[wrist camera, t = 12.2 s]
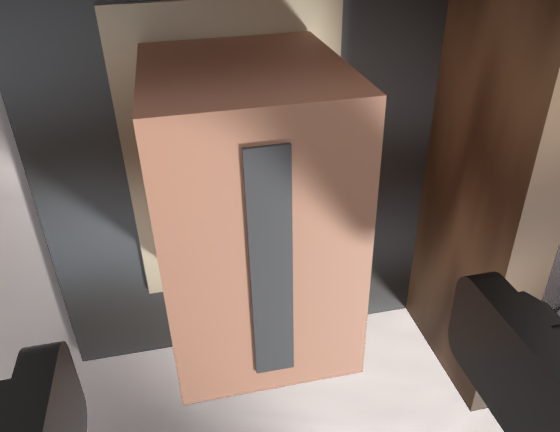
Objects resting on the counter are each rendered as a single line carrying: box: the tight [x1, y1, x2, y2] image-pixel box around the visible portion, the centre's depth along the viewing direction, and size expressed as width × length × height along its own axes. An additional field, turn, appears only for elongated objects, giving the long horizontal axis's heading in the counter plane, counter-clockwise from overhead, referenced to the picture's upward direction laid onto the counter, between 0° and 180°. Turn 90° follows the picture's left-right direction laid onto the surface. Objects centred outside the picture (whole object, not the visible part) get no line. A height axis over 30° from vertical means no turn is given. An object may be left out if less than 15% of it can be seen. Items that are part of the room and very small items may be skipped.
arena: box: [0, 0, 560, 411], centre depth 16 cm, size 16×15×6 cm
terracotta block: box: [133, 31, 387, 405], centre depth 15 cm, size 5×8×6 cm, turn 1°
